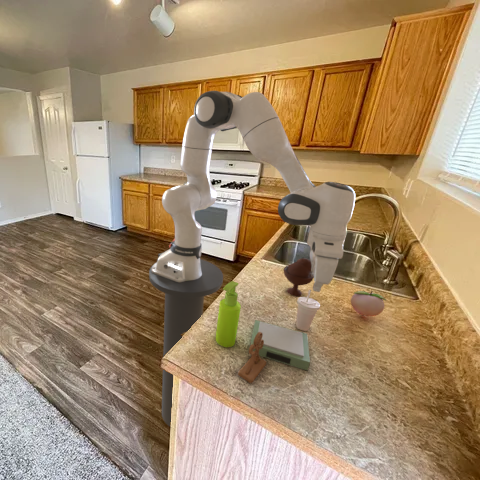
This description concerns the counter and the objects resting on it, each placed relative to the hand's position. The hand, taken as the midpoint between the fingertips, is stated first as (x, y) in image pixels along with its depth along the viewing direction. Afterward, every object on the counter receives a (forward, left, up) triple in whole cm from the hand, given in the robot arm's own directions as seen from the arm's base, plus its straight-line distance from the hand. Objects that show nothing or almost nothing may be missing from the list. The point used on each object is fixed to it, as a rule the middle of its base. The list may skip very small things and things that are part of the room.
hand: (314, 282), depth 80 cm
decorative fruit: (+20, +16, -17) cm, 31 cm away
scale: (-7, -13, -17) cm, 22 cm away
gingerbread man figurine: (-13, -25, -17) cm, 33 cm away
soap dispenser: (-22, -17, -17) cm, 33 cm away
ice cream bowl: (-2, +22, -17) cm, 28 cm away
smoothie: (0, 0, -17) cm, 17 cm away
